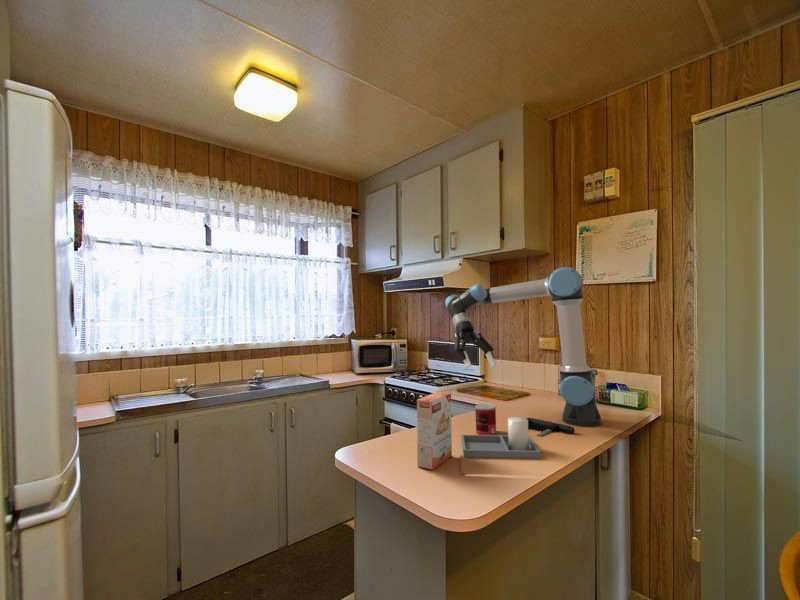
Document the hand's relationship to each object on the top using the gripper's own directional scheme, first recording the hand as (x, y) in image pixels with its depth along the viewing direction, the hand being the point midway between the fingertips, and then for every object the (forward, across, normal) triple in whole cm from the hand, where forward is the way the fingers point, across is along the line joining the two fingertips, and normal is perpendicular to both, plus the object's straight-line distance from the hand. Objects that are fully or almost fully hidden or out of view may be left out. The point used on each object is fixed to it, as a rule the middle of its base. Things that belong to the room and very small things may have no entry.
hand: (481, 366), depth 159 cm
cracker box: (+34, +36, -1) cm, 50 cm away
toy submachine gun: (+30, -16, -1) cm, 34 cm away
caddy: (+35, +13, +3) cm, 38 cm away
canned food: (+25, +4, -9) cm, 27 cm away
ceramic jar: (+37, +8, +7) cm, 38 cm away
